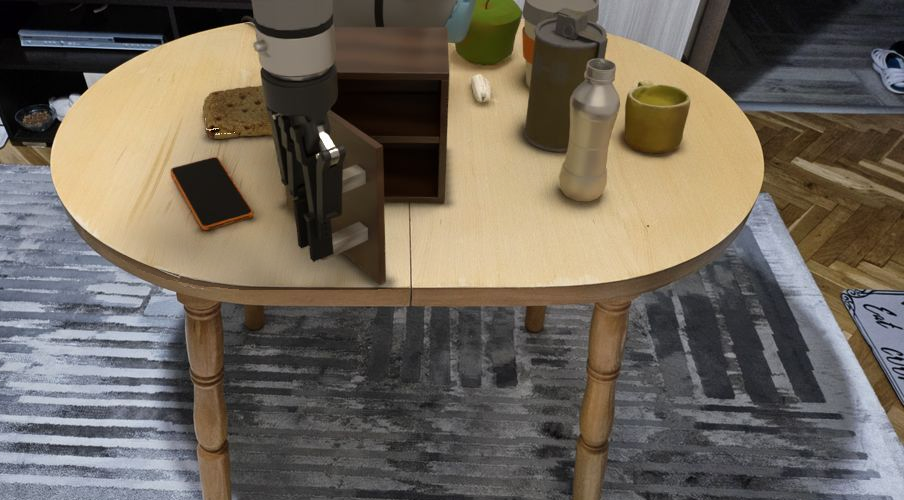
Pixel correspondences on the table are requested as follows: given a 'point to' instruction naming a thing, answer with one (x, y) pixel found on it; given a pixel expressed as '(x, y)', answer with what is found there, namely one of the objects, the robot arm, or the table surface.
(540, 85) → the canister
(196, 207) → the smartphone
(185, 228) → the table surface
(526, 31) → the reusable coffee cup
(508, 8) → the apple
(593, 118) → the plastic bottle
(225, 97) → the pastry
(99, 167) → the table surface
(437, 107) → the cupboard
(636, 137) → the mug
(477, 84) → the white ridged oblong
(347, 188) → the cupboard door
